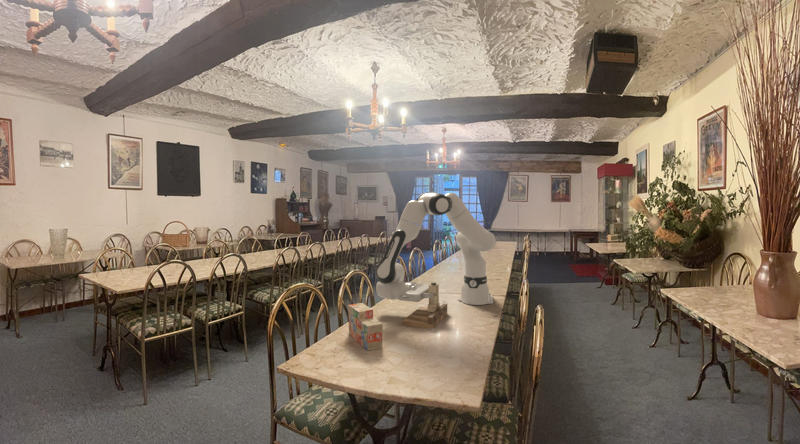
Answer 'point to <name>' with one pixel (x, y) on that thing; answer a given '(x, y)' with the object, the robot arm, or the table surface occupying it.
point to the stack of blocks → (364, 326)
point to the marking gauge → (434, 301)
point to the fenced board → (425, 317)
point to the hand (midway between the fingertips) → (435, 294)
